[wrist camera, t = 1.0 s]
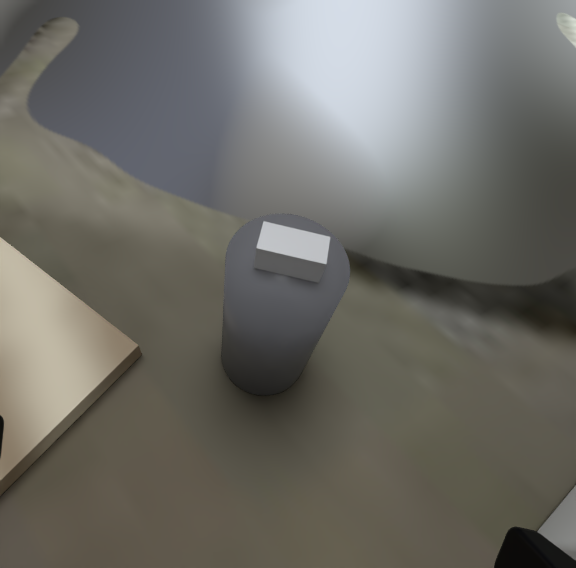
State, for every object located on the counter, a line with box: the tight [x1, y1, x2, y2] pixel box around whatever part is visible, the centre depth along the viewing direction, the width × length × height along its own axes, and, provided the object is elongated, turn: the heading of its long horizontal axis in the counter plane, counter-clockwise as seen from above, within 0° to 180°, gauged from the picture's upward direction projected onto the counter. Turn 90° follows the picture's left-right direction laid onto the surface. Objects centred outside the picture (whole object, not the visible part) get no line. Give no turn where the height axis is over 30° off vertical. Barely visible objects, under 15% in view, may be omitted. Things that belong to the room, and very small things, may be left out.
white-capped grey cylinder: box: [221, 214, 350, 395], centre depth 18 cm, size 5×5×10 cm
